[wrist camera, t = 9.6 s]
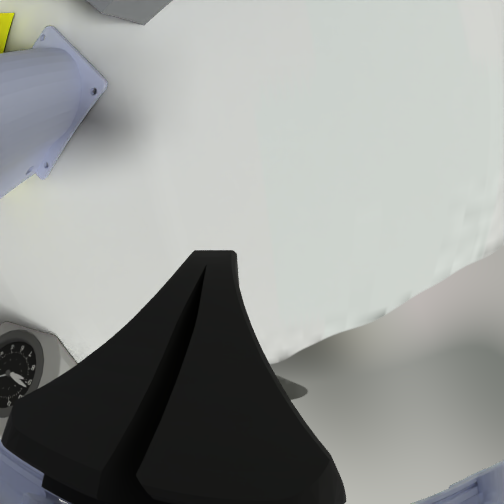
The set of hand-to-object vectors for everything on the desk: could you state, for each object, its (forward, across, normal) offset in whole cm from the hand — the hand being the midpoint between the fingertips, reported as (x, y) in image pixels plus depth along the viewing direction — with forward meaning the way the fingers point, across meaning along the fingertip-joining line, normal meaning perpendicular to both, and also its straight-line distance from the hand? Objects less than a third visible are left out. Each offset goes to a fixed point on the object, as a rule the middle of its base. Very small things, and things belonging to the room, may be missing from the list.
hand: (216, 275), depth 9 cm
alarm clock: (+10, +33, +24) cm, 42 cm away
